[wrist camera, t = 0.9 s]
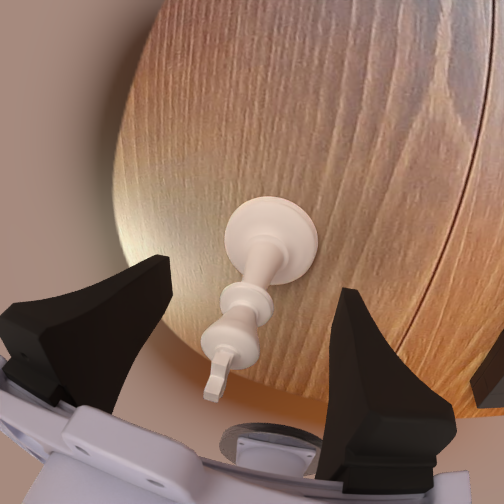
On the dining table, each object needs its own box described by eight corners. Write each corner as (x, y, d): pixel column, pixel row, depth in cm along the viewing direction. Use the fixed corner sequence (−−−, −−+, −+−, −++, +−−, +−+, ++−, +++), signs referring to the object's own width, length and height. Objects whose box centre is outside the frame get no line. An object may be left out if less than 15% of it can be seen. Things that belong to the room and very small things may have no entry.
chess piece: (222, 267, 19) (143, 409, 10) (231, 186, 16) (124, 311, 8) (305, 288, 18) (276, 450, 10) (328, 208, 15) (319, 367, 7)
